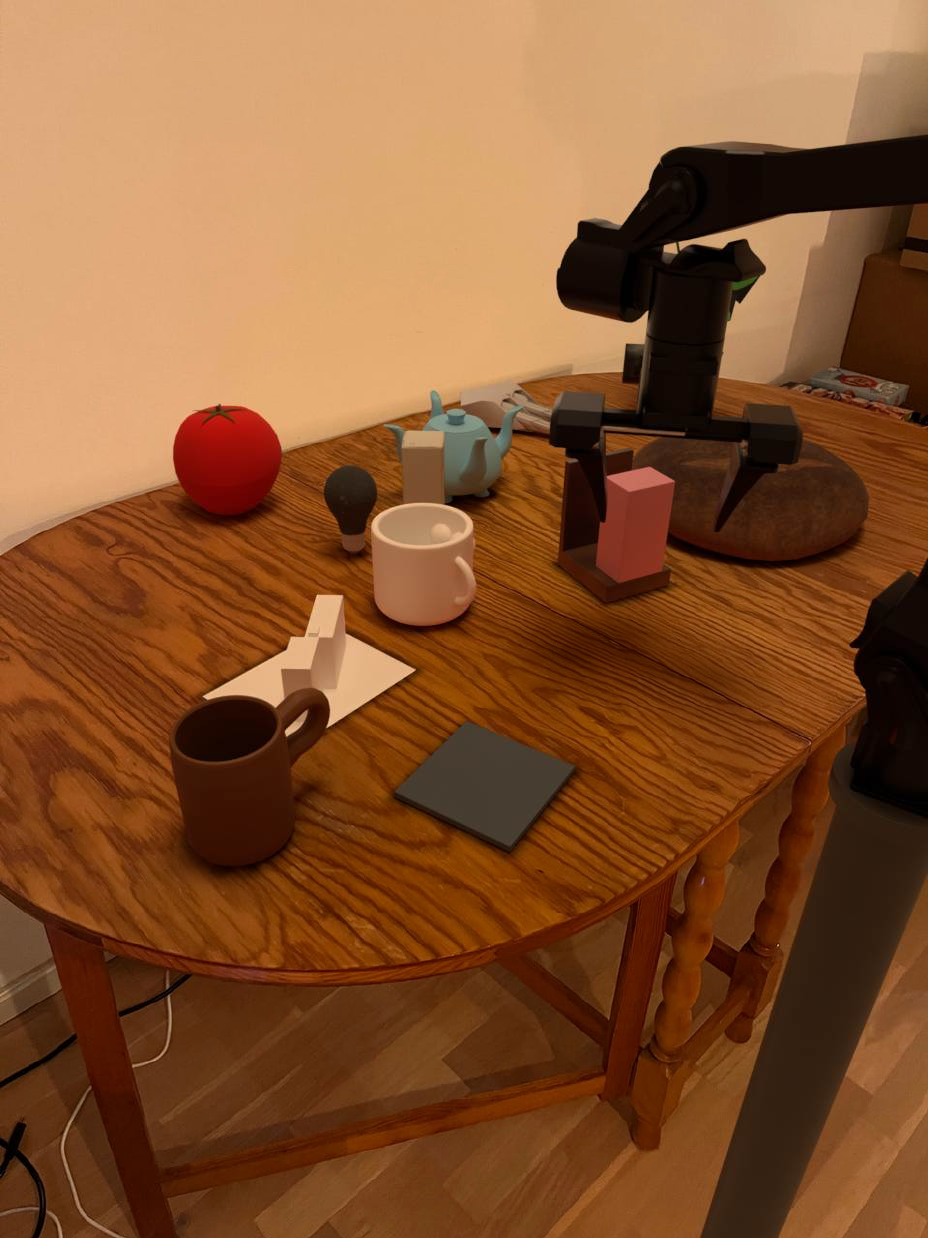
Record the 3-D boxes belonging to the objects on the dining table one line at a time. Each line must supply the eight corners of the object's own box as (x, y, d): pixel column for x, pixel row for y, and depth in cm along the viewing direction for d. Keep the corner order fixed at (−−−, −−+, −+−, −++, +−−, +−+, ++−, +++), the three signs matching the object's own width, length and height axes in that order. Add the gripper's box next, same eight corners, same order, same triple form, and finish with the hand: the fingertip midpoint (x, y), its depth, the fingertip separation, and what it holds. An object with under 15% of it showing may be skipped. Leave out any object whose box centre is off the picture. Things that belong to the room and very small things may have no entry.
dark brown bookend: (669, 585, 95) (685, 478, 88) (605, 603, 92) (617, 494, 85) (617, 548, 102) (629, 447, 95) (557, 564, 98) (565, 460, 92)
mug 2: (513, 613, 90) (517, 531, 85) (436, 654, 84) (436, 568, 79) (431, 569, 97) (430, 491, 92) (354, 604, 91) (349, 522, 86)
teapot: (522, 479, 117) (526, 403, 112) (481, 521, 107) (483, 439, 102) (431, 462, 122) (431, 387, 116) (384, 500, 111) (381, 420, 106)
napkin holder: (329, 624, 88) (324, 572, 85) (417, 669, 82) (416, 615, 79) (200, 697, 78) (190, 641, 75) (290, 754, 72) (283, 696, 69)
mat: (575, 771, 71) (575, 765, 70) (509, 853, 64) (510, 847, 63) (466, 726, 75) (466, 720, 75) (394, 797, 68) (393, 791, 68)
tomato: (178, 532, 104) (160, 426, 97) (184, 490, 113) (168, 390, 107) (288, 524, 106) (278, 419, 99) (285, 483, 115) (275, 385, 109)
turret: (569, 462, 127) (577, 431, 125) (442, 418, 133) (447, 387, 130) (592, 439, 135) (600, 409, 132) (472, 398, 140) (477, 368, 138)
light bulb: (324, 543, 102) (317, 459, 96) (373, 537, 103) (369, 454, 98) (333, 567, 97) (327, 480, 92) (385, 560, 99) (381, 474, 93)
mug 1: (303, 752, 72) (293, 654, 67) (366, 800, 68) (359, 699, 63) (167, 830, 65) (144, 727, 60) (227, 890, 60) (207, 784, 55)
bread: (900, 570, 98) (923, 495, 94) (647, 568, 98) (657, 493, 93) (813, 465, 122) (827, 401, 118) (610, 463, 122) (616, 399, 117)
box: (443, 560, 99) (443, 448, 92) (403, 559, 99) (400, 447, 92) (445, 537, 103) (445, 429, 96) (406, 537, 103) (404, 428, 96)
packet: (662, 571, 93) (675, 481, 88) (618, 583, 91) (629, 491, 86) (638, 554, 96) (649, 466, 91) (595, 566, 94) (604, 476, 89)
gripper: (802, 314, 73) (766, 494, 81) (567, 302, 75) (555, 477, 84) (823, 354, 63) (779, 553, 72) (554, 338, 66) (542, 532, 74)
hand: (659, 525), depth 76 cm, fingers open, 9 cm apart
